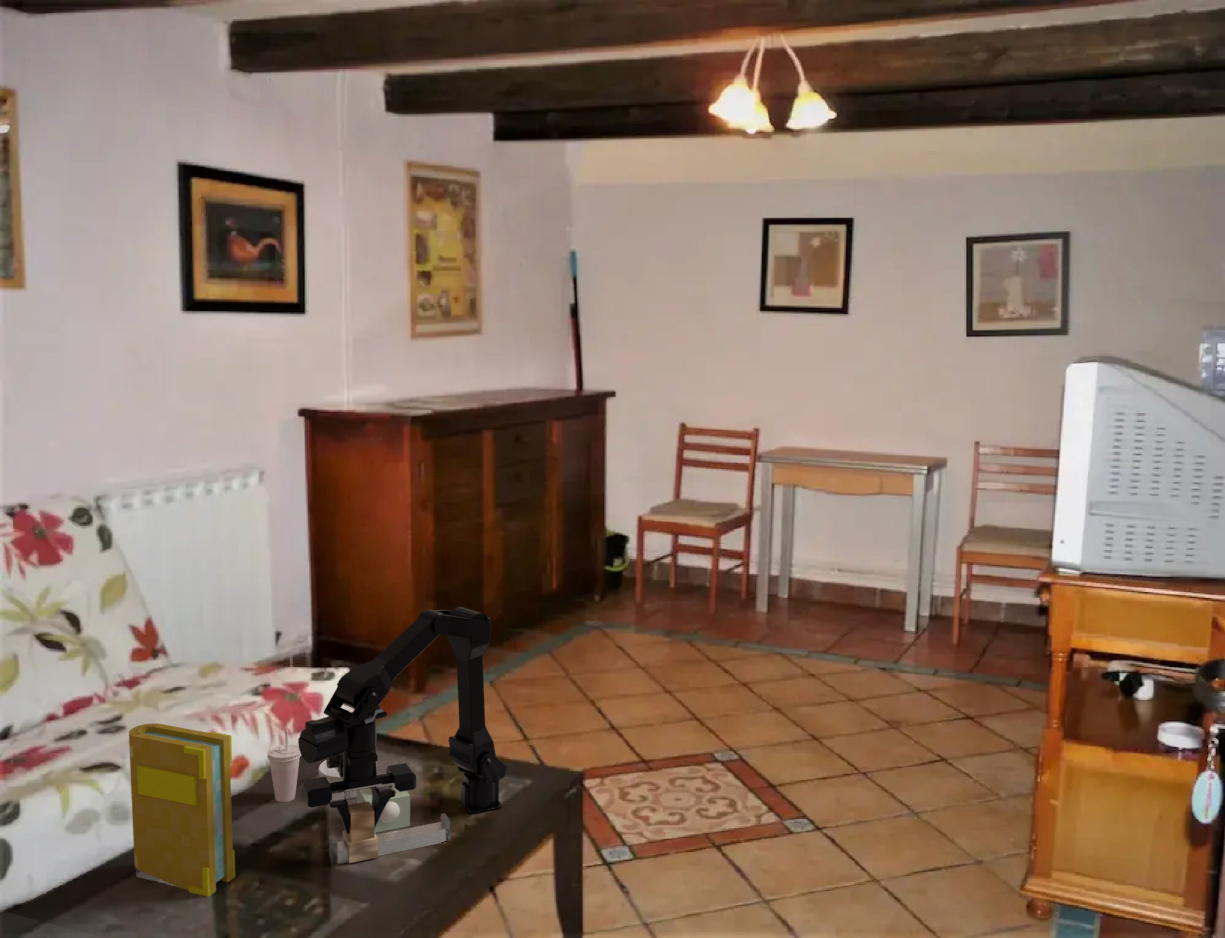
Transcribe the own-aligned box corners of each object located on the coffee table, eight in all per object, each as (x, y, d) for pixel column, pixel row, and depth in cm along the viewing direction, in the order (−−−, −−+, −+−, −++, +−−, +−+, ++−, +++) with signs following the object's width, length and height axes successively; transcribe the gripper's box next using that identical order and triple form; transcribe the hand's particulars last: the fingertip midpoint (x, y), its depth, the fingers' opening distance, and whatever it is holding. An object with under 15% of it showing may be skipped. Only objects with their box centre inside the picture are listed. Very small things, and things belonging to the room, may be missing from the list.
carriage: (371, 843, 192) (370, 799, 191) (378, 857, 187) (377, 811, 186) (342, 849, 190) (342, 804, 188) (349, 863, 185) (349, 816, 184)
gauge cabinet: (398, 807, 207) (398, 778, 206) (410, 826, 199) (410, 795, 198) (357, 815, 203) (356, 785, 202) (367, 834, 196) (367, 803, 195)
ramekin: (307, 796, 211) (307, 770, 210) (340, 773, 221) (340, 749, 220) (356, 806, 207) (355, 780, 206) (387, 783, 217) (387, 758, 217)
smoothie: (292, 806, 206) (291, 737, 204) (261, 803, 207) (260, 734, 205) (308, 792, 212) (307, 725, 210) (278, 788, 213) (277, 721, 211)
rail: (445, 833, 197) (445, 813, 196) (450, 841, 194) (450, 820, 194) (329, 857, 188) (329, 835, 187) (332, 865, 185) (332, 843, 184)
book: (235, 876, 180) (231, 735, 177) (208, 896, 174) (203, 750, 170) (154, 857, 186) (148, 720, 182) (125, 876, 180) (118, 734, 176)
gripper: (400, 721, 197) (400, 801, 199) (295, 737, 189) (297, 820, 191) (417, 744, 187) (417, 828, 189) (308, 761, 179) (309, 849, 181)
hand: (360, 830), depth 188 cm, fingers closed on carriage, 4 cm apart
